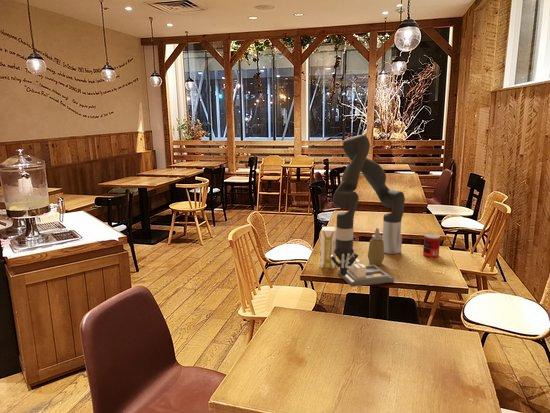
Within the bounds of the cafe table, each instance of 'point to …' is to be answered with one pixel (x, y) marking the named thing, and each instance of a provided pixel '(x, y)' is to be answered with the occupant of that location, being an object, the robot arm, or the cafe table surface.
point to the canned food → (431, 245)
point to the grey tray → (368, 276)
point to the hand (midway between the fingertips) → (343, 275)
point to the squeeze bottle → (376, 249)
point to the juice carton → (327, 247)
